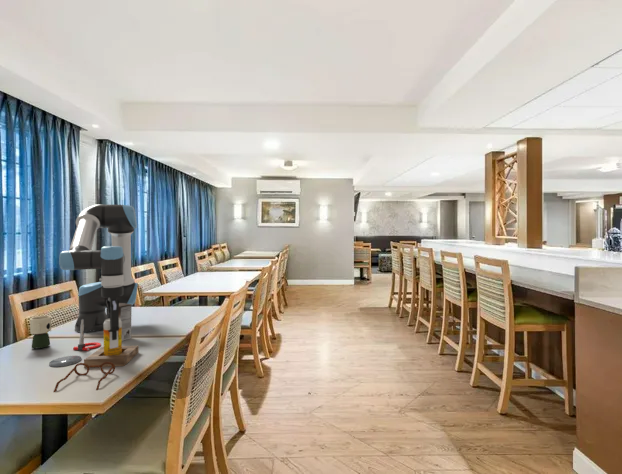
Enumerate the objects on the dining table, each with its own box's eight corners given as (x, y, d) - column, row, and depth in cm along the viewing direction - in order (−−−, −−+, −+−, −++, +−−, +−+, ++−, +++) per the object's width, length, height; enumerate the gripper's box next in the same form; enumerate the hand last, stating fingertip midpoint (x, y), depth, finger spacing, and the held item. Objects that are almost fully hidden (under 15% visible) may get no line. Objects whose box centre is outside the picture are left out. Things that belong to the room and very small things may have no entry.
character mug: (49, 349, 145) (49, 319, 145) (28, 352, 142) (27, 321, 141) (52, 342, 155) (52, 313, 154) (32, 345, 151) (32, 315, 151)
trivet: (59, 357, 136) (59, 356, 136) (86, 356, 137) (86, 355, 137) (42, 367, 126) (42, 365, 126) (72, 366, 127) (72, 364, 127)
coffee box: (105, 339, 159) (105, 304, 159) (118, 335, 165) (118, 302, 165) (120, 341, 156) (119, 306, 156) (132, 337, 162) (131, 303, 162)
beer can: (108, 361, 130) (108, 322, 130) (100, 358, 133) (100, 319, 133) (124, 357, 135) (124, 318, 135) (116, 353, 138) (116, 316, 138)
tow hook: (88, 344, 154) (70, 350, 145) (89, 315, 154) (72, 319, 145) (105, 345, 152) (88, 351, 143) (106, 316, 153) (89, 320, 144)
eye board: (102, 354, 140) (102, 346, 140) (138, 352, 142) (138, 345, 142) (84, 367, 126) (84, 359, 126) (124, 365, 128) (124, 357, 128)
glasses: (115, 374, 121) (115, 360, 121) (97, 391, 108) (97, 375, 108) (75, 376, 120) (75, 362, 119) (52, 394, 107) (51, 378, 107)
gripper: (98, 283, 139) (99, 340, 139) (103, 290, 124) (104, 354, 124) (119, 282, 143) (120, 337, 144) (127, 288, 128) (127, 350, 128)
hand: (112, 345), depth 134 cm, fingers closed on beer can, 6 cm apart
